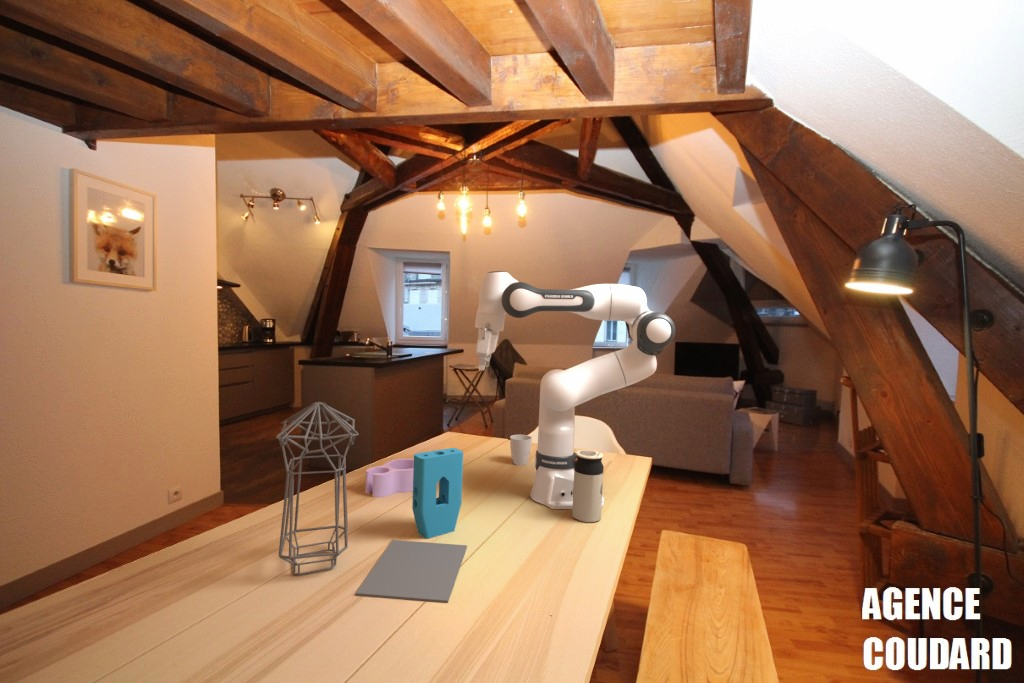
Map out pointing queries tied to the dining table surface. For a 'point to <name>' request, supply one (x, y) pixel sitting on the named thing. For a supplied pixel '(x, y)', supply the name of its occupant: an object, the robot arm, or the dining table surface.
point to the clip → (390, 478)
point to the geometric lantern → (286, 437)
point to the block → (428, 509)
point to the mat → (415, 571)
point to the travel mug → (588, 486)
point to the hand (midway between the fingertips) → (483, 368)
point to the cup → (520, 448)
